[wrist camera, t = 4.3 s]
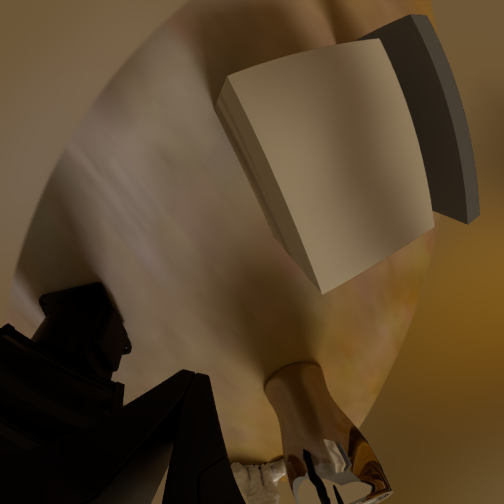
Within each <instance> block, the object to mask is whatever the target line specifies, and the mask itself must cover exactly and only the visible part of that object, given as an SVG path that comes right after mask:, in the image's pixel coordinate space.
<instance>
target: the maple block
mask: <svg viewBox="0 0 504 504" xmlns="http://www.w3.org/2000/svg"><path fill="white" fill-rule="evenodd" d="M214 110H215V112H216V114H217V116H218V118H219V120H220V122H221V124H222V126H223V128H224V130H225V132H226V134H227V136H228V138H229V141H230V143H231V145H232V147H233V149H234V151H235V153H236V155H237V157H238V159H239V161H240V163H241V166H242V168H243V170H244V172H245V174H246V176H247V178H248V180H249V182H250V185H251V187H252V189H253V191H254V193H255V195H256V197H257V200H258V202H259V204H260V206H261V208H262V210H263V213H264V215H265V217H266V219H267V221H268V224H269V226H270V228H271V230H272V232H273V235H274V237H275V239H276V240H277V241H278V242H279V243H280V244H281V246H282V247H283V248H284V249H285V250H286V252H287V253H288V254H289V255H290V256H291V258H292V259H293V260H294V261H295V262H296V263H297V265H298V266H299V267H300V268H301V269H302V271H303V272H304V273H305V274H306V275H307V277H308V278H309V279H310V280H311V282H312V283H313V284H314V285H315V286H316V288H317V289H318V290H319V291H320V292H321V294H322V295H323V294H325V293H327V292H328V291H330V290H332V289H334V288H336V287H337V286H339V285H341V284H343V283H344V282H346V281H348V280H350V279H351V278H353V277H355V276H357V275H358V274H360V273H362V272H363V271H365V270H367V269H368V268H370V267H372V266H373V265H375V264H377V263H378V262H380V261H382V260H383V259H385V258H387V257H388V256H390V255H391V254H393V253H395V252H396V251H398V250H399V249H401V248H403V247H404V246H406V245H407V244H409V243H410V242H412V241H413V240H415V239H416V238H418V237H420V236H421V235H423V234H424V233H426V232H427V231H429V230H430V229H431V228H433V227H434V220H433V213H432V206H431V199H430V193H429V188H428V182H427V177H426V172H425V168H424V163H423V159H422V155H421V151H420V147H419V143H418V139H417V135H416V132H415V128H414V125H413V122H412V118H411V115H410V112H409V109H408V106H407V103H406V100H405V98H404V95H403V92H402V89H401V87H400V84H399V82H398V79H397V77H396V74H395V72H394V69H393V67H392V65H391V62H390V60H389V58H388V56H387V53H386V51H385V49H384V47H383V45H382V43H381V41H380V39H370V40H362V41H355V42H348V43H342V44H337V45H331V46H326V47H321V48H317V49H312V50H308V51H304V52H300V53H296V54H292V55H288V56H285V57H281V58H278V59H275V60H271V61H268V62H265V63H262V64H259V65H256V66H253V67H250V68H247V69H244V70H241V71H239V72H236V73H233V74H231V75H228V76H227V77H226V80H225V82H224V85H223V87H222V90H221V92H220V95H219V97H218V100H217V103H216V105H215V108H214Z"/></svg>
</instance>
